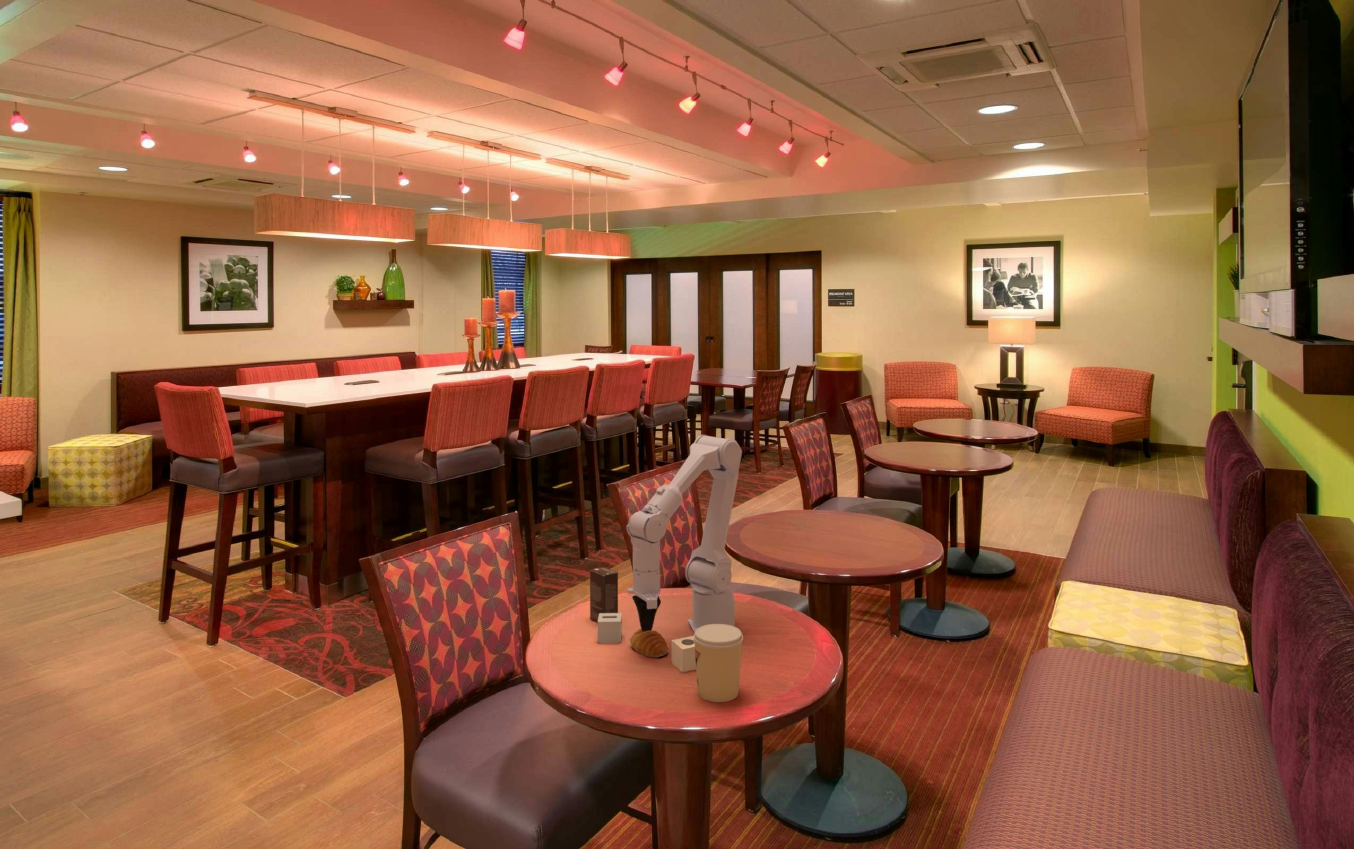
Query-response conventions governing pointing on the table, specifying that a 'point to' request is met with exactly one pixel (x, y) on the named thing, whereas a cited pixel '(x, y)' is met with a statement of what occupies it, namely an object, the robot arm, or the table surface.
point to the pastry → (649, 643)
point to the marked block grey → (609, 628)
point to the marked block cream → (684, 654)
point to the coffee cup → (718, 661)
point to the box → (603, 592)
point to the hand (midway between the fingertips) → (646, 629)
